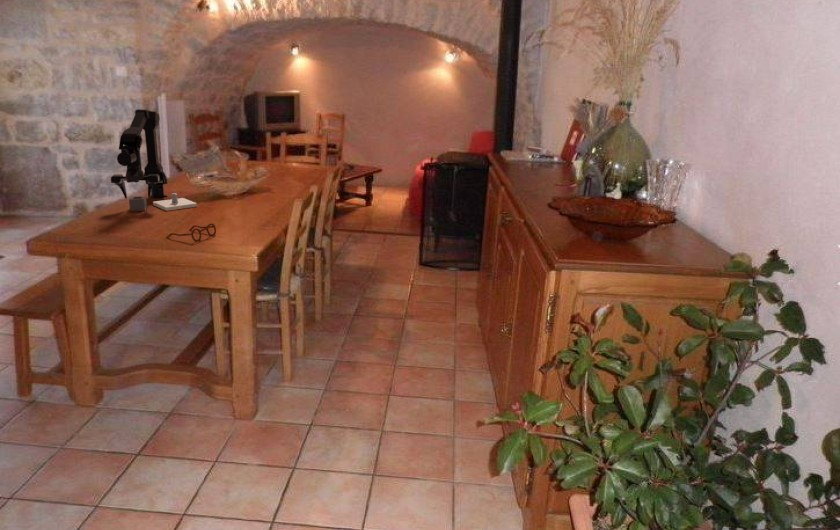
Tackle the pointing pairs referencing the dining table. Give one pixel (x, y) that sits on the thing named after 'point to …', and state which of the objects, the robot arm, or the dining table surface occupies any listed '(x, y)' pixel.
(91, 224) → the dining table surface
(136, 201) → the grey box housing
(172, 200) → the base plate
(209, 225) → the glasses
